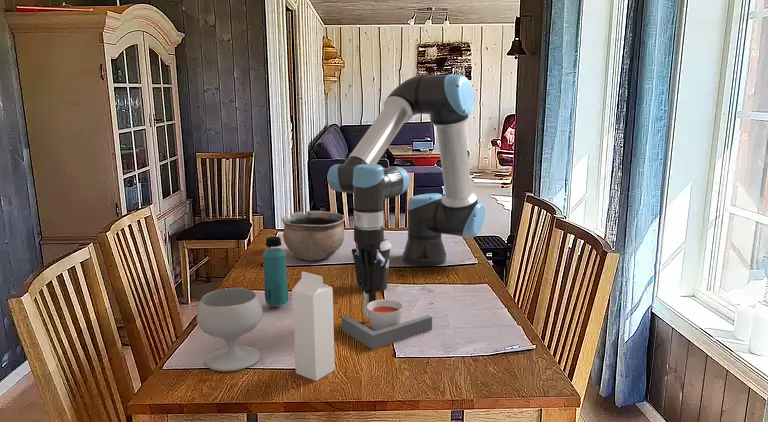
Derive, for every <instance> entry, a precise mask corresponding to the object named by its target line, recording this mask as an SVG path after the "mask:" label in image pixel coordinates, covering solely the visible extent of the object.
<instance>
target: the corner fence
mask: <svg viewBox="0 0 768 422" xmlns="http://www.w3.org/2000/svg"><path fill="white" fill-rule="evenodd" d="M430 330H431V331H432V330H433V317H432V316H430V315H429V314H426V315H423V316H420V317H417V318H415V319H411V320H407V321H405V322H404V321H403V322H400V324H397V325H394V326H391V327H388V328H384V329H381V330H378V331H373V330H372V329H371V328H370V327H367V326H366V325H364V324H362V323H361V322H359V321H357V320H356V319H353V318H352V317H350V316H348V315H345V316H342V317H341V331H342V332H344V333H345V334H347V335H349V336H350V337H352V338H354V339H355V340H357V341H358V342H360V343H362V345H364V346H366V347H368V348H370V349H371V350H376V349H379V348H381V347H385V346H389V345H391V344H395V343H397V341H398V342H400V341H399V340H401V341H403V340H402V339H404V340H406V339H405V338H407V339H409V337H410V338H412V336H413V337H416V336H418V334H419V335H421V333H422V334H425V333H427V331H428V332H431V331H430ZM424 332H425V333H424ZM415 335H416V336H415ZM394 342H395V343H394Z"/></svg>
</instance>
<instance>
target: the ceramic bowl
mask: <svg viewBox="0 0 768 422" xmlns="http://www.w3.org/2000/svg"><path fill="white" fill-rule="evenodd" d="M281 220H282V223H283V225H284V226H283V232H282V238H283V242H284V244H285V245H286V247H287V249H288V251H290V252H291V254H292V255H294V256H295V257H296V258H299V259H300V260H303V261H318V260H319V261H321V260H324V259H328V258H330V257H331V256H333V255H334V254H335V253H336V252H337V251H338V250H340V248H341V246H342V245H343V243H344V239H345V227H344V222H345V220H346V217H345V215H344V214H340V213H338V212H333V211H323V210H307V211H306V212H305V213H304V212H302V211H297V212H292V213H291V214H290V218H288V217H287V216H286V215H285V216H283V217H282V218H281Z"/></svg>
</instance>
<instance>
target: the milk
mask: <svg viewBox="0 0 768 422" xmlns="http://www.w3.org/2000/svg"><path fill="white" fill-rule="evenodd" d="M323 279H324V278H323V276H322V275H318V274H313V273H310V272H307V271H301V279H299V281H298V282H297V283H296V284H295V285H294V287H293V288H292V289H291V292H292V293H291V294H292V318H293V337H294V339H293V340H294V342H293V343H294V361H295V362H294V365H295V374H297V375H300V376H302V377H304V378H307V379H308V380H309V379H310V380H312V381H315V382H317V381H319V380H320V379H322V378H324V377H326V376H327V375H329V374H330V373H332V372H334V371H335V368H336V367H335V339H334V338H335V336H334V335H335V331H334V330H335V329H334V328H335V327H334V304H333V303H334V299H333V297H334V296H333V286H330V285H327V284H326V283H324V281H323Z"/></svg>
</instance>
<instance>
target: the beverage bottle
mask: <svg viewBox="0 0 768 422" xmlns="http://www.w3.org/2000/svg"><path fill="white" fill-rule="evenodd" d="M265 246H266V247H267V249H266V250H265V251H264V252H263V253H262V260H263V278H264V279H263V281H264V291H263V292H264V298H265V304H266V305H267V306H270V307H271V306H272V307H273V306H274V307H278V306H279V307H280V306H283V305H286V304H287V303H288V302H289V291H288V290H289V288H288V287H289V286H288V284H289V283H288V274H287V259H286V258H287V257H286V256H287V253H286V251H285V250H283V248H280V247H281V246H282V239H281V237H280V236H268V237H266V239H265Z"/></svg>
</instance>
